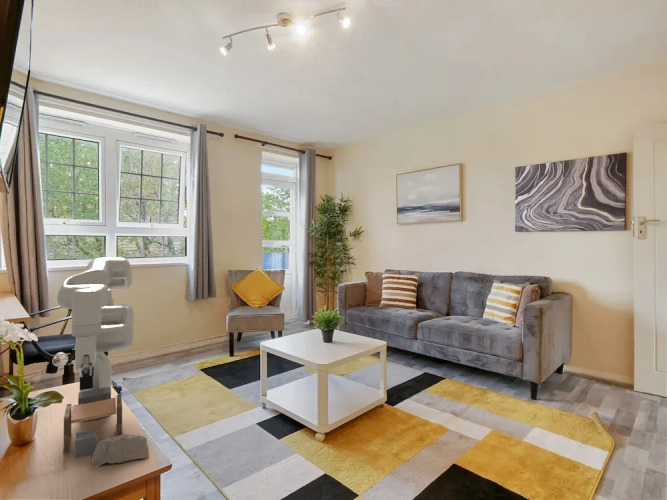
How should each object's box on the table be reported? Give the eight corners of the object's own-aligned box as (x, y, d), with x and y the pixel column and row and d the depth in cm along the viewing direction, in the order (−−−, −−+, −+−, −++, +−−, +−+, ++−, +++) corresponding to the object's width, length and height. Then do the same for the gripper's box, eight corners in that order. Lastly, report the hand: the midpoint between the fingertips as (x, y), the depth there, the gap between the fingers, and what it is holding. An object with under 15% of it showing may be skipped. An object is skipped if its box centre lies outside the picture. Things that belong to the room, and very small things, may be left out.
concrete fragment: (146, 462, 102) (146, 441, 102) (90, 469, 98) (90, 447, 98) (151, 448, 109) (151, 428, 109) (99, 454, 105) (99, 434, 105)
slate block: (76, 433, 107) (75, 441, 103) (96, 428, 110) (95, 436, 106) (76, 449, 107) (75, 458, 103) (96, 444, 110) (95, 452, 106)
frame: (65, 437, 113) (65, 404, 113) (121, 424, 122) (121, 394, 121) (62, 453, 105) (62, 418, 104) (122, 438, 113) (122, 406, 113)
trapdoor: (74, 401, 119) (74, 392, 118) (114, 393, 125) (115, 385, 124) (70, 426, 107) (70, 417, 107) (116, 416, 113) (116, 408, 113)
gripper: (73, 323, 115) (74, 375, 116) (69, 337, 101) (69, 396, 102) (101, 321, 119) (101, 371, 120) (101, 334, 105) (101, 391, 106)
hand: (86, 382), depth 111 cm, fingers open, 9 cm apart
